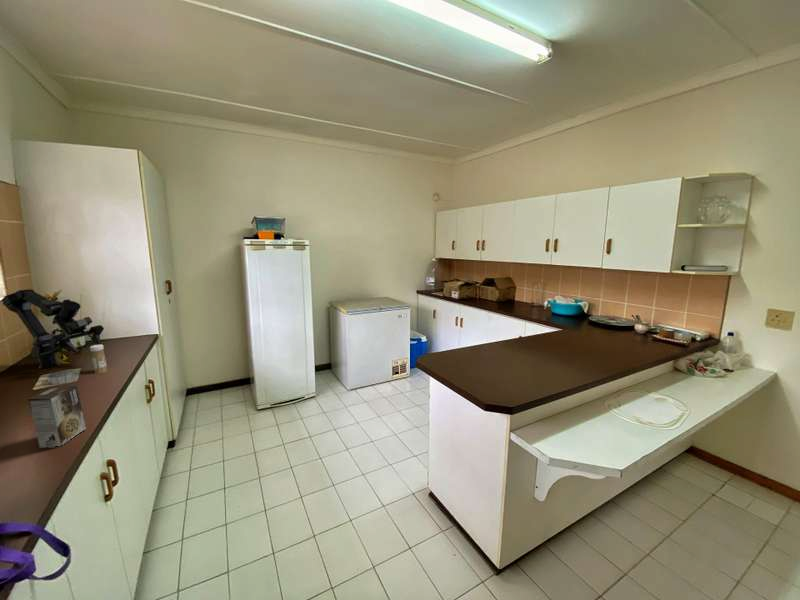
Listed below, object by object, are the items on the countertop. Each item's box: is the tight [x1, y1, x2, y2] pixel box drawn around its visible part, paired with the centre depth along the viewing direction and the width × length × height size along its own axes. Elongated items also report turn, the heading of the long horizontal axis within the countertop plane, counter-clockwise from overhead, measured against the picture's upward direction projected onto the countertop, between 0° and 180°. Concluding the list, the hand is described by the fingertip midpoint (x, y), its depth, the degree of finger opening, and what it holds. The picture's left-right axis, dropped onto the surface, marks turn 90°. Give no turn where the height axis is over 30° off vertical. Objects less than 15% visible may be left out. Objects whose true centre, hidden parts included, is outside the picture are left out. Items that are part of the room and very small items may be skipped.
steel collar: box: [47, 368, 79, 385], centre depth 142 cm, size 9×9×3 cm
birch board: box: [32, 368, 82, 390], centre depth 144 cm, size 18×13×1 cm
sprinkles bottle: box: [89, 344, 108, 374], centre depth 150 cm, size 5×5×13 cm
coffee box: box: [28, 384, 87, 449], centre depth 101 cm, size 9×6×16 cm
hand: (89, 349), depth 150 cm, fingers open, 9 cm apart
